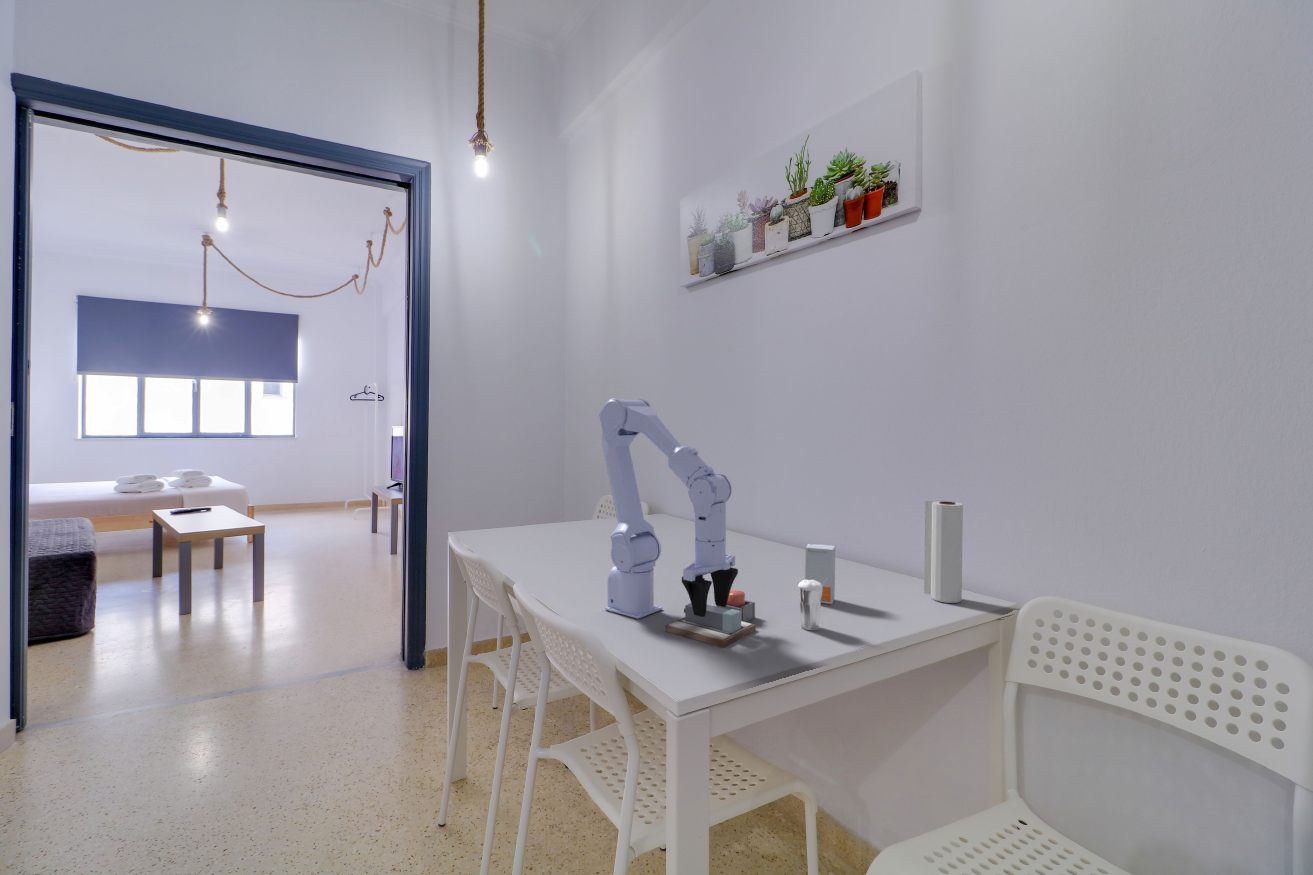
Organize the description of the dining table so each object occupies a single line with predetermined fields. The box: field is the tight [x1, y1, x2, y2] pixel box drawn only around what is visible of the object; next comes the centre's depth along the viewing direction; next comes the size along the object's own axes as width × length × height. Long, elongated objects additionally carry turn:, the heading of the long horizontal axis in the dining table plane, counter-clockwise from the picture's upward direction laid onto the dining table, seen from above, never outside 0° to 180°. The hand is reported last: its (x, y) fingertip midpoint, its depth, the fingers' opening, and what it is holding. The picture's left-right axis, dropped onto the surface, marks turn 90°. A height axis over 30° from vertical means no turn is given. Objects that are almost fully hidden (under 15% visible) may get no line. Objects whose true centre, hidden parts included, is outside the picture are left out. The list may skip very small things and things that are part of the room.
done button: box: [727, 590, 746, 608], centre depth 121 cm, size 4×4×3 cm
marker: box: [683, 602, 741, 633], centre depth 114 cm, size 12×3×3 cm, turn 51°
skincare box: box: [804, 543, 837, 605], centre depth 131 cm, size 6×4×12 cm
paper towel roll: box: [923, 500, 964, 604], centre depth 132 cm, size 7×6×21 cm
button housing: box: [715, 599, 756, 623], centre depth 121 cm, size 6×6×3 cm
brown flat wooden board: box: [664, 616, 756, 649], centre depth 114 cm, size 13×11×1 cm
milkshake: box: [797, 578, 827, 632], centre depth 114 cm, size 5×5×10 cm
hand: (710, 610), depth 114 cm, fingers open, 7 cm apart
